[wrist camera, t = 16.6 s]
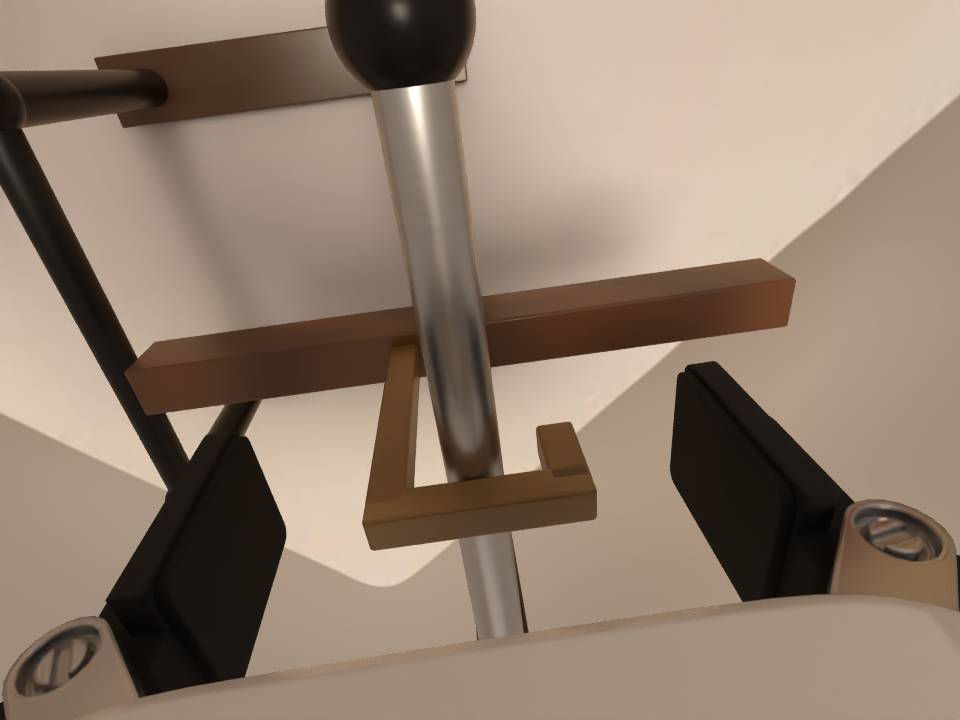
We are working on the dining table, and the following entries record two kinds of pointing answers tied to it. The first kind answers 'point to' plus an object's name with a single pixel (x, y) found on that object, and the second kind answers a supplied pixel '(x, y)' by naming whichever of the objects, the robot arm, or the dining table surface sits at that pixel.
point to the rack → (414, 190)
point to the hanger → (511, 340)
